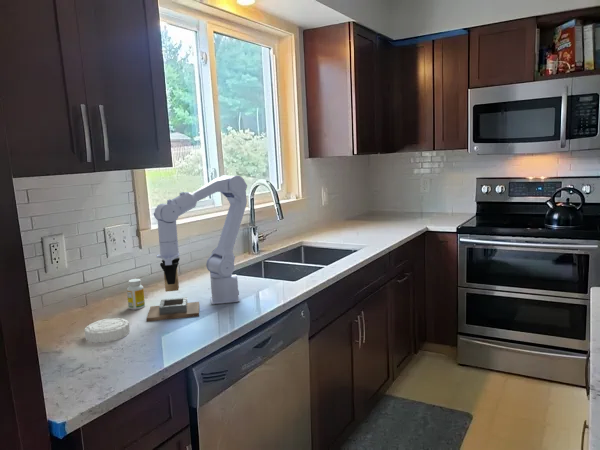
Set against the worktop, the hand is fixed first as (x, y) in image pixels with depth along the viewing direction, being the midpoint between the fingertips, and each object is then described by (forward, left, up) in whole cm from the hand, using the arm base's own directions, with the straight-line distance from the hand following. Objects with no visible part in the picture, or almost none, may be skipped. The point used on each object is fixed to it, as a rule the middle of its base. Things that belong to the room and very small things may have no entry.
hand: (171, 282), depth 150 cm
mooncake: (+18, +14, -11) cm, 25 cm away
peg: (0, 0, -2) cm, 2 cm away
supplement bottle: (+13, -10, -10) cm, 19 cm away
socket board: (0, 0, -10) cm, 10 cm away
